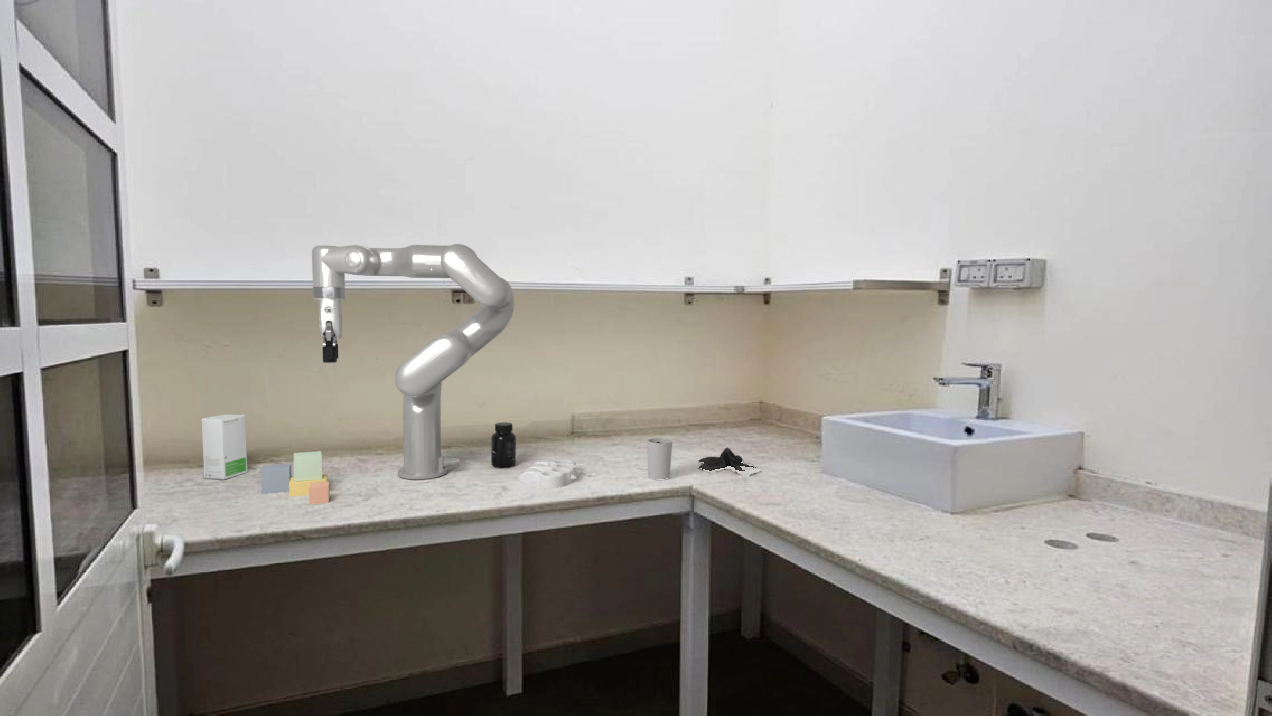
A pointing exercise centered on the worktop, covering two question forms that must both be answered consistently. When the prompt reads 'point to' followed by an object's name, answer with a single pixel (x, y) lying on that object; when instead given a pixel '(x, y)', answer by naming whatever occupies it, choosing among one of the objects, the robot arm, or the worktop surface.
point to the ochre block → (303, 486)
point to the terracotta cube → (319, 492)
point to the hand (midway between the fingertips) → (330, 360)
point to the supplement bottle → (503, 446)
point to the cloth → (723, 461)
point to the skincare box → (224, 446)
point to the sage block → (307, 466)
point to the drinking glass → (659, 458)
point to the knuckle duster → (551, 473)
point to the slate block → (275, 478)
